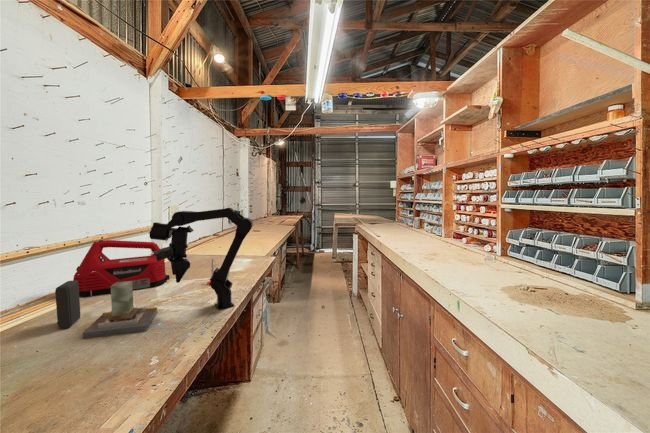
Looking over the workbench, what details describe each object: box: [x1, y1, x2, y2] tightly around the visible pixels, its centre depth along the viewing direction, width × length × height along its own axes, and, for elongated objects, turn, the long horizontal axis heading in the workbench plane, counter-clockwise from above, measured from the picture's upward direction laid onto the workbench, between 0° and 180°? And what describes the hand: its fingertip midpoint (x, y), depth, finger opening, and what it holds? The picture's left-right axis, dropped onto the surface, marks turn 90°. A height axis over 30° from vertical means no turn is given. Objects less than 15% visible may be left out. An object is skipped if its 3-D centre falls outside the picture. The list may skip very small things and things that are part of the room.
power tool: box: [72, 239, 170, 298], centre depth 143 cm, size 16×40×25 cm, turn 123°
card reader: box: [54, 280, 81, 330], centre depth 103 cm, size 9×4×15 cm, turn 21°
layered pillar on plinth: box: [108, 281, 139, 322], centre depth 103 cm, size 7×7×13 cm
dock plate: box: [81, 306, 158, 340], centre depth 103 cm, size 18×16×4 cm
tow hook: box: [206, 259, 215, 286], centre depth 150 cm, size 8×13×9 cm
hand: (175, 278), depth 118 cm, fingers open, 9 cm apart
